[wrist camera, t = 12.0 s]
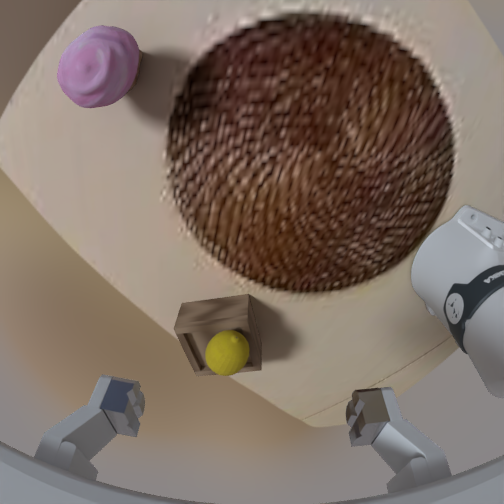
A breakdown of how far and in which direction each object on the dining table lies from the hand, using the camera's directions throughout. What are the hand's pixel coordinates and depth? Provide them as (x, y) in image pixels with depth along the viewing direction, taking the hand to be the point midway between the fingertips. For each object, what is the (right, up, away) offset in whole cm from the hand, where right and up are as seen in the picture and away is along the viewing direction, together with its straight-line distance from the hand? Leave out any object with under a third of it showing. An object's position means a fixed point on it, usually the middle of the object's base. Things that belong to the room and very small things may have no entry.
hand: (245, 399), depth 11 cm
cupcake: (-15, +27, +19) cm, 36 cm away
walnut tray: (-4, -5, +37) cm, 37 cm away
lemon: (-5, -11, +31) cm, 33 cm away
